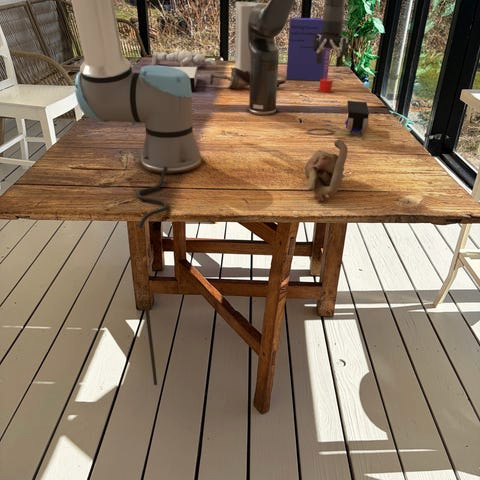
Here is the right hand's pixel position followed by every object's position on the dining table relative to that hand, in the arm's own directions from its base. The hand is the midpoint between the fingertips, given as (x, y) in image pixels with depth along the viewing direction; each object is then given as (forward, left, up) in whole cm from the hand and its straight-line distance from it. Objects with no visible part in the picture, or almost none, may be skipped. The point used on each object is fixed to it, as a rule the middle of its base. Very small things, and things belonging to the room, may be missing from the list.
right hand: (328, 64), depth 185 cm
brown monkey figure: (+81, -47, -10) cm, 94 cm away
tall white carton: (-40, -15, -10) cm, 44 cm away
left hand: (+12, -70, +24) cm, 76 cm away
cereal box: (-21, +2, -10) cm, 23 cm away
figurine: (-14, -28, -10) cm, 33 cm away
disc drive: (-28, -55, -10) cm, 62 cm away
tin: (0, 0, -10) cm, 10 cm away
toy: (-61, -41, -10) cm, 74 cm away
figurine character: (+46, -16, -10) cm, 50 cm away
